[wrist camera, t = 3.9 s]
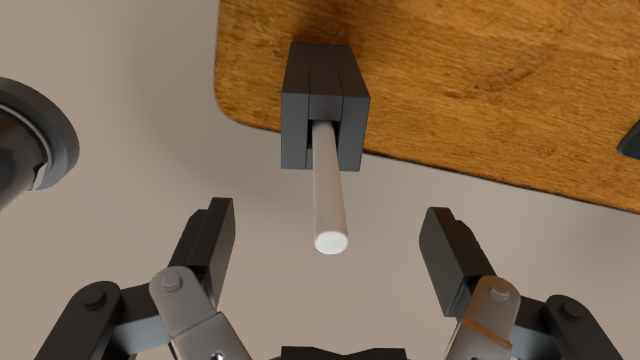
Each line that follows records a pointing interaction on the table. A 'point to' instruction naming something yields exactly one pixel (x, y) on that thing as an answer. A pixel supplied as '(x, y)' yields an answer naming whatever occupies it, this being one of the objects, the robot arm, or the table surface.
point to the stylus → (327, 191)
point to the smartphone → (631, 143)
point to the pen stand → (322, 104)
